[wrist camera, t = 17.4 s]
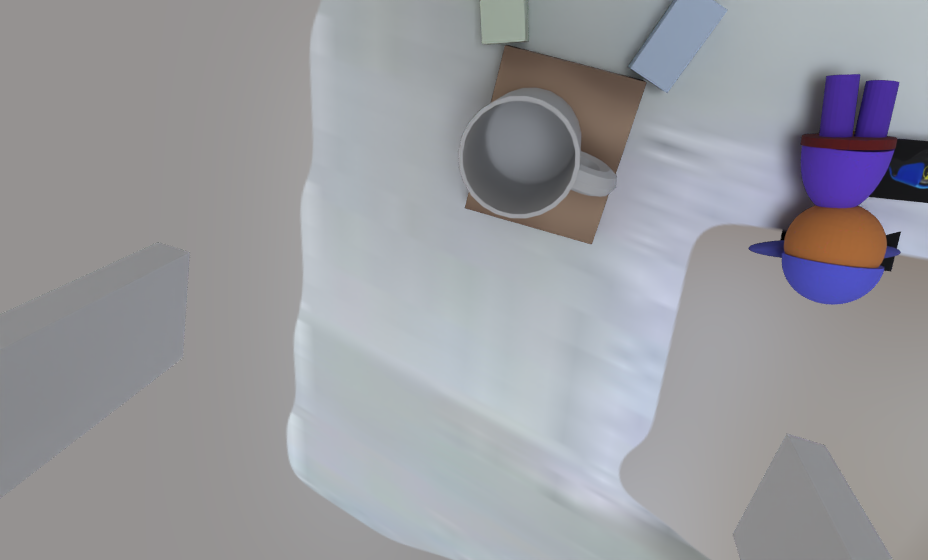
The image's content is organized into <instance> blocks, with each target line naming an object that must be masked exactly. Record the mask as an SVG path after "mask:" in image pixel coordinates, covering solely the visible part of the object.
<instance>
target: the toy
mask: <svg viewBox="0 0 928 560" xmlns="http://www.w3.org/2000/svg"><path fill="white" fill-rule="evenodd" d="M859 81H860V74H851V75H831V76H826V83H825V91H824V99H823V107H822V116H821V124H820V132H819V134H804V135H802V138H801V145H802V151H801V173H802V179H803V184H804V187H805V189H806V192H807V194H808V196H809V197H810V199H811V200H812V202H813V203H814V204H815V206H813V207H811V208H808V209H807V210H805V211H803V212H802V213H801V214H800V215H798V216H797V217H796V218H795V219H794V221H793V222H792V223H791V224H790V226H789V228H788V230H787V231H785V230H782V234H781V239H780V241H770V242H763V243H757V244H754V245H751V246H750V247H749V250H750V251H753V252H755V253H759V254H763V255H767V256H773V257H780V258H782V268H783V271H784V275H785V277H786V279H787V280H788V282H789V284H790V285H791V286H792V287H793V289H794V290H795V291H797V292H798V293H799V294H801V295H802V296H803V297H805V298H807V299H809V300H812V301H815V302H818V303H823V304H843V303H848V302H851V301H854V300H856V299H859V298H861V297H862V296H864V295H865V294H867V293H868V292H869V291H871V290H872V289H873V288H874V287H875V285H876V284H877V283H878V282H879V280H880V278H881V276H882V274H883V272H884V271H891V269H892V265H893V262H894V257H895V256H896V255H899V254H900V253H901V252H900V251H899V250H898V249H897V245H898V241H899V237H900V233H901V231H900V232H897V233H893V234H889V235H886V234H885V232H884V229H883V227H882V225H881V224H880V222H879V221H878V219H877V218H876V217H875V216H874V215H872V214H871V213H870V212H869V211H867V210H865V209H864V208H862V207H860V206H858V205H859V204H861V203H862V202H863V201H864V200H865V199H866V198H868V197H875V198H885V199H895V200H904V201H914V202H923V203H928V141H918V140H906V139H897V138H896V137H890V136H887V134H888V129H889V125H890V121H891V117H892V112H893V108H894V104H895V100H896V95H897V91H898V87H899V82H896V81H888V80H871V81H866V84H865V89H864V93H863V98H862V102H861V107H860V111H859V116H858V120H857V125H856V129H855V131H854V130H853V127H854V119H855V111H856V104H857V96H858V88H859Z"/></svg>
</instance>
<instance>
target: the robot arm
mask: <svg viewBox="0 0 928 560" xmlns="http://www.w3.org/2000/svg"><path fill="white" fill-rule="evenodd" d="M189 258H190V252H188V251H185V250H182V249H179V248H175V247H172V246H169V245H166V244H162V243H159V242H157V243H155V244H153V245H151V246H149V247H147V248H144V249H142V250H140V251H138V252H136V253H133V254H131V255H129V256H127V257H125V258H122V259H120V260H118V261H116V262H114V263H111V264H109V265H107V266H105V267H103V268H100V269H98V270H96V271H94V272H92V273H90V274H87V275H85V276H83V277H81V278H79V279H76V280H74V281H72V282H70V283H68V284H65V285H63V286H61V287H59V288H57V289H54V290H52V291H51V292H48V293H46V294H44V295H41V296H39V297H37V298H35V299H32V300H30V301H28V302H26V303H24V304H22V305H19V306H17V307H15V308H13V309H11V310H8V311H6V312H4V313H2V314H0V498H1V497H3V496H4V495H6V494H7V493H8V492H9V491H10V490H12V489H13V488H15V487H16V486H17V485H18V484H20V483H21V482H22V481H24V480H25V479H26V478H27V477H29V476H30V475H31V474H33V473H34V472H35V471H37V470H38V469H39V468H41V467H42V466H43V465H44V464H46V463H47V462H48V461H50V460H51V459H52V458H54V457H55V456H56V455H57V454H59V453H60V452H61V451H63V450H64V449H65V448H67V447H68V446H69V445H70V444H72V443H73V442H74V441H76V440H77V439H78V438H80V437H81V436H82V435H83V434H85V433H86V432H87V431H88V430H90V429H91V428H93V427H94V426H95V425H96V424H98V423H99V422H100V421H102V420H103V419H104V418H106V417H107V416H108V415H109V414H111V413H112V412H113V411H115V410H116V409H117V408H118V407H120V406H121V405H122V404H123V403H125V402H126V401H128V400H129V399H130V398H132V397H133V396H134V395H135V394H137V393H138V392H139V391H140V390H142V389H143V388H144V387H146V386H147V385H148V384H150V383H151V382H152V381H154V380H155V379H156V378H157V377H159V376H160V375H161V374H163V373H164V372H165V371H166V370H168V369H169V368H170V367H172V366H173V365H174V364H176V363H177V362H178V361H179V360H181V359H182V358H183V347H184V332H185V318H186V302H187V288H188V273H189ZM733 537H734V540H735V544H736V547H737V550H738V554H739V557H740V560H893V559H892V557H891V555H890V554H889V552H888V550H887V549H886V547H885V545H884V543H883V542H882V540H881V538H880V537H879V535H878V534H877V532H876V530H875V528H874V527H873V525H872V523H871V522H870V520H869V518H868V517H867V515H866V513H865V511H864V510H863V508H862V506H861V505H860V503H859V502H858V500H857V498H856V496H855V495H854V493H853V491H852V490H851V488H850V486H849V485H848V483H847V481H846V480H845V478H844V476H843V474H842V473H841V471H840V469H839V468H838V466H837V464H836V463H835V461H834V459H833V458H832V456H831V454H830V453H829V451H828V449H827V448H826V446H825V445H823V444H820V443H817V442H813V441H810V440H807V439H804V438H800V437H797V436H793V435H790V434H787V435H786V436H785V438H784V440H783V442H782V444H781V445H780V447H779V449H778V451H777V453H776V455H775V457H774V459H773V461H772V462H771V464H770V466H769V468H768V470H767V471H766V473H765V475H764V477H763V479H762V481H761V483H760V484H759V486H758V488H757V490H756V492H755V494H754V496H753V497H752V499H751V501H750V503H749V505H748V507H747V509H746V511H745V512H744V514H743V516H742V518H741V520H740V522H739V524H738V525H737V527H736V529H735V531H734V533H733Z"/></svg>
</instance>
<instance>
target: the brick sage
mask: <svg viewBox="0 0 928 560" xmlns="http://www.w3.org/2000/svg"><path fill="white" fill-rule="evenodd" d="M480 15H481V36H482V44H500V43H514V42H528V41H529V27H528V0H480Z"/></svg>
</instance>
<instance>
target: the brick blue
mask: <svg viewBox="0 0 928 560" xmlns="http://www.w3.org/2000/svg"><path fill="white" fill-rule="evenodd" d="M726 12H727V9H726V8H724V7H723V6H721V5H720V4H718V3H717V2H715V1H714V0H674V1H673V2H672V4H671V5H670V7H669V8H668V10H667V11H666V12H665V14H664V15H663V17H662V18H661V20H660V21H659V23H658V24H657V25H656V27H655V28H654V30H653V31H652V33H651V34H650V36H649V37H648V39H647V40H646V41H645V43H644V44H643V46H642V47H641V49H640V50H639V52H638V53H637V54H636V56H635V57H634V59H633V60H632V62H631V63H630V65H629V66H628V67H629V68H630V69H632V70H633V71H635V72H636V73H638V74H639V75H641V76H642V77H644V78H645V79H647V80H648V81H650V82H651V83H653V84H654V85H656V86H657V87H659V88H660V89H661V90H663V91H665V92H666V93H668V91H669V90H670V88H671V87H672V86H673V84H674V83H675V82H676V80H677V79H678V78H679V76H680V75H681V73H682V72H683V71H684V69H685V68H686V67H687V65H688V64H689V62H690V61H691V60H692V58H693V57H694V56H695V54H696V53H697V51H698V50H699V49H700V47H701V46H702V45H703V43H704V42H705V41H706V39H707V38H708V36H709V35H710V34H711V32H712V31H713V30H714V28H715V27H716V25H717V24H718V23H719V21H720V20H721V19H722V17H723V16H724V15H725V13H726Z"/></svg>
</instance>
